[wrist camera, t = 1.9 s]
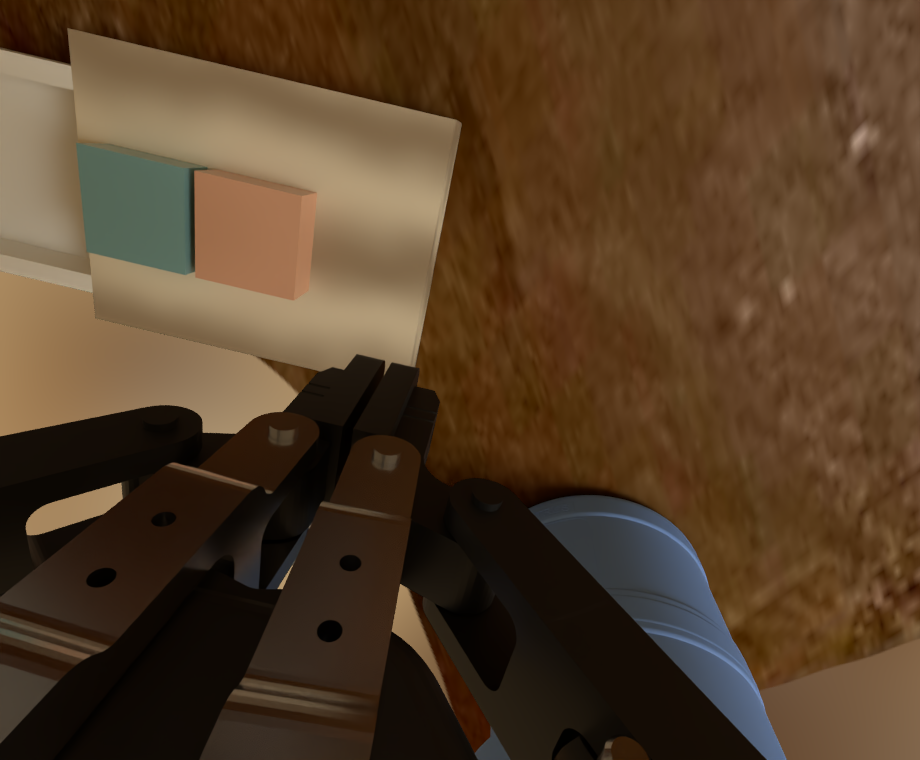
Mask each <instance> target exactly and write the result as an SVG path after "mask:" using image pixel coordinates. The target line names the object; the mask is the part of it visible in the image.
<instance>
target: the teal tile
mask: <svg viewBox="0 0 920 760" xmlns="http://www.w3.org/2000/svg"><path fill="white" fill-rule="evenodd" d="M76 149H77V159H78V169H79V179H80V190H81V200H82V210H83V220H84V230H85V240H86V251H87V252H89V253H93V254H97V255H102V256H106V257H110V258H114V259H119V260H123V261H127V262H131V263H136V264H140V265H144V266H148V267H153V268H157V269H161V270H165V271H170V272H174V273H178V274H182V275H187V274H190V273H193V272H195V187H194V171H196V170H208V167H206V166H202V165H198V164H193V163H189V162H185V161H181V160H176V159H172V158H168V157H164V156H159V155H155V154H151V153H147V152H142V151H138V150H134V149H130V148H125V147H121V146H117V145H113V144H109V143H76Z"/></svg>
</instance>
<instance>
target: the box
mask: <svg viewBox="0 0 920 760" xmlns="http://www.w3.org/2000/svg"><path fill="white" fill-rule="evenodd" d="M76 143H78V133H77V122H76V112H75V102H74V91H73V81H72V70H71V64H68V63H64V62H60V61H56V60H51V59H47V58H43V57H39V56H34V55H30V54H26V53H22V52H17V51H13V50H9V49H5V48H0V271H2V272H6V273H10V274H15V275H19V276H23V277H27V278H32V279H36V280H40V281H45V282H49V283H53V284H57V285H61V286H66V287H70V288H74V289H78V290H83V291H87V292H91V293H93V288H92V278H91V268H90V257H89V252H87V251H86V240H85V230H84V220H83V210H82V200H81V190H80V179H79V169H78V159H77V149H76Z"/></svg>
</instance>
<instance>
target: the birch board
mask: <svg viewBox="0 0 920 760" xmlns="http://www.w3.org/2000/svg"><path fill="white" fill-rule="evenodd" d="M67 29H68V39H69V50H70V60H71V70H72V81H73V91H74V102H75V112H76V122H77V133H78V143H109V144H113V145H117V146H121V147H125V148H130V149H134V150H138V151H142V152H147V153H151V154H155V155H159V156H164V157H168V158H172V159H176V160H181V161H185V162H189V163H193V164H198V165H202V166H206V167H208V170H213V169H219V170H223V171H227V172H231V173H236V174H240V175H244V176H248V177H253V178H257V179H261V180H265V181H270V182H274V183H278V184H282V185H287V186H291V187H295V188H299V189H304V190H308V191H312V192H316V193H317V202H316V213H315V225H314V236H313V247H312V259H311V270H310V281H309V291H308V292H306V293H305V294H303V295H302V296H300V297H299V298H297V299H296V300H294V301H293V300H288V299H284V298H280V297H276V296H271V295H267V294H263V293H259V292H254V291H250V290H246V289H242V288H238V287H233V286H229V285H225V284H221V283H216V282H212V281H208V280H204V279H199V278H195V272H193V273H190V274H187V275H182V274H178V273H174V272H170V271H165V270H161V269H157V268H153V267H148V266H144V265H140V264H136V263H131V262H127V261H123V260H119V259H114V258H110V257H106V256H102V255H97V254H93V253H89V257H90V268H91V278H92V288H93V298H94V309H95V318H97V319H101V320H105V321H109V322H113V323H118V324H122V325H126V326H130V327H135V328H139V329H143V330H147V331H152V332H156V333H160V334H164V335H169V336H173V337H177V338H182V339H186V340H190V341H194V342H199V343H203V344H207V345H211V346H216V347H220V348H224V349H228V350H233V351H237V352H241V353H245V354H250V355H254V356H258V357H262V358H267V359H271V360H275V361H279V362H284V363H288V364H292V365H296V366H301V367H305V368H309V369H313V370H318V371H324V370H326V369H329V368H331V367H335V368H339V369H343V370H345V368H346V367H347V366H348V364H349V363H350V362H351V360H352V359H353V358H354V357H355V355H356V354H360V355H364V356H368V357H372V358H377V359H381V360H385V372H384V375H385V373H386V371H387V369H388V368H389V366H390V364H391V363H392V362H394V363H398V364H402V365H407V366H411V367H415V364H416V359H417V354H418V349H419V344H420V338H421V333H422V328H423V323H424V318H425V312H426V307H427V302H428V297H429V292H430V286H431V281H432V276H433V271H434V266H435V260H436V255H437V250H438V245H439V239H440V234H441V229H442V224H443V219H444V213H445V208H446V203H447V198H448V193H449V187H450V182H451V177H452V172H453V167H454V161H455V156H456V151H457V146H458V141H459V135H460V130H461V125H462V123H460V122H459V121H457V120H454V119H450V118H446V117H441V116H437V115H433V114H429V113H425V112H420V111H416V110H412V109H408V108H403V107H399V106H395V105H391V104H386V103H382V102H378V101H374V100H369V99H365V98H361V97H357V96H353V95H348V94H344V93H340V92H336V91H331V90H327V89H323V88H319V87H314V86H310V85H306V84H302V83H298V82H293V81H289V80H285V79H281V78H276V77H272V76H268V75H264V74H259V73H255V72H251V71H247V70H242V69H238V68H234V67H230V66H226V65H221V64H217V63H213V62H209V61H204V60H200V59H196V58H192V57H187V56H183V55H179V54H175V53H171V52H166V51H162V50H158V49H154V48H149V47H145V46H141V45H137V44H132V43H128V42H124V41H120V40H116V39H111V38H107V37H103V36H99V35H94V34H90V33H86V32H82V31H77V30H73V29H69V28H67Z"/></svg>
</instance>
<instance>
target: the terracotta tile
mask: <svg viewBox="0 0 920 760" xmlns="http://www.w3.org/2000/svg"><path fill="white" fill-rule="evenodd" d="M194 187H195V278H199V279H204V280H208V281H212V282H216V283H221V284H225V285H229V286H233V287H238V288H242V289H246V290H250V291H254V292H259V293H263V294H267V295H271V296H276V297H280V298H284V299H288V300H293V301H294V300H296V299H297V298H299V297H300V296H302V295H303V294H305V293H306V292H308V291H309V281H310V270H311V259H312V247H313V236H314V225H315V213H316V202H317V193H316V192H312V191H308V190H304V189H299V188H295V187H291V186H287V185H282V184H278V183H274V182H270V181H265V180H261V179H257V178H253V177H248V176H244V175H240V174H236V173H231V172H227V171H223V170H219V169H213V170H196V171H194Z"/></svg>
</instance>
